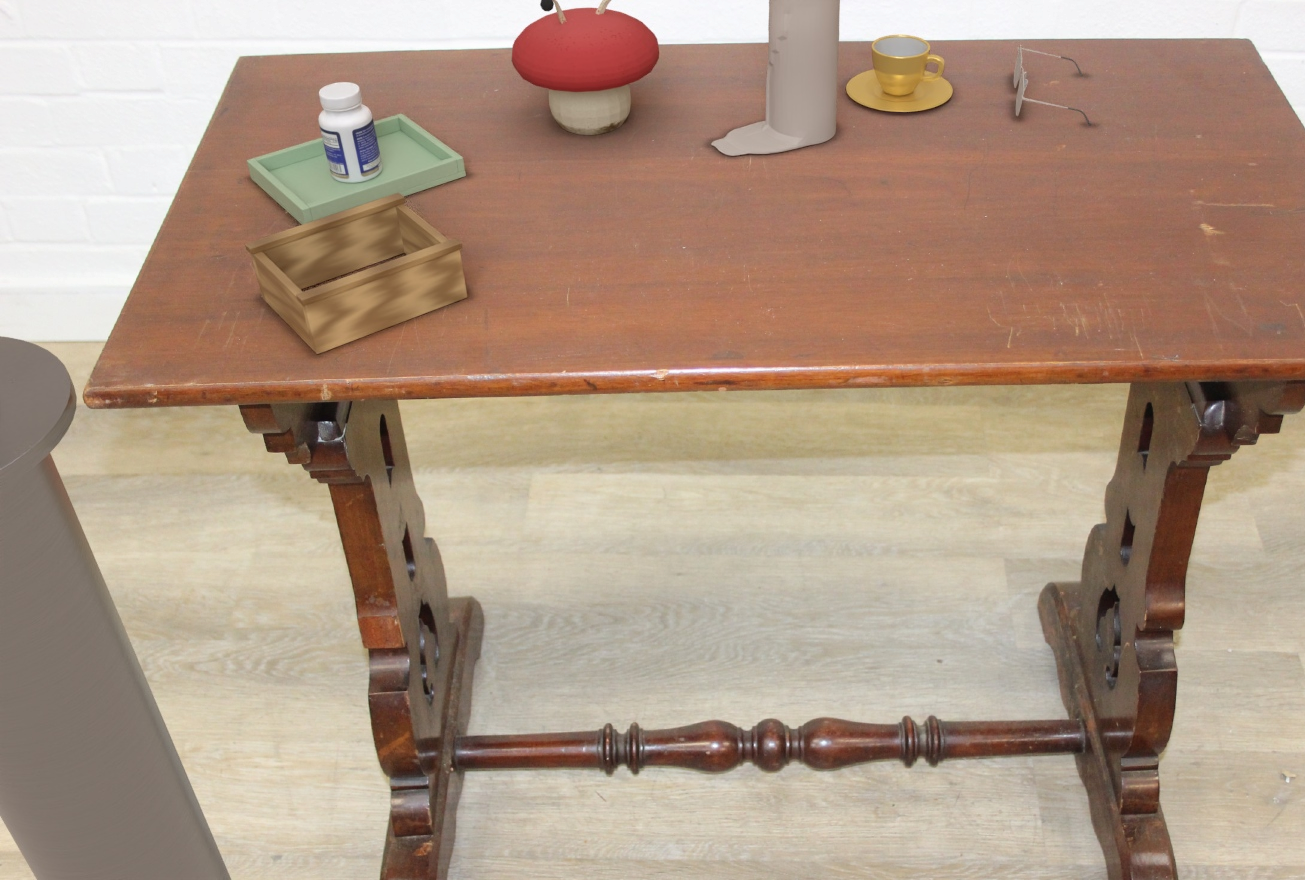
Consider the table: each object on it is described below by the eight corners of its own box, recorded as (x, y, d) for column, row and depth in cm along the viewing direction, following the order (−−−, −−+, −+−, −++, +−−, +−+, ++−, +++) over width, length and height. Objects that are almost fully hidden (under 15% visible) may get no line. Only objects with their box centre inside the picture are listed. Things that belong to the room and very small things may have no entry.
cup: (833, 107, 155) (835, 60, 152) (861, 65, 164) (863, 20, 161) (939, 121, 153) (943, 73, 149) (962, 77, 161) (966, 31, 158)
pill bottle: (381, 157, 146) (365, 76, 140) (384, 180, 142) (368, 97, 137) (329, 164, 145) (311, 82, 139) (331, 187, 141) (312, 103, 136)
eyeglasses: (1012, 71, 162) (1019, 38, 160) (1081, 79, 162) (1089, 46, 159) (1016, 124, 152) (1023, 89, 149) (1090, 132, 151) (1098, 97, 149)
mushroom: (560, 166, 145) (544, 24, 136) (495, 112, 156) (477, -24, 146) (690, 129, 152) (684, -10, 142) (620, 79, 162) (610, -53, 152)
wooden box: (315, 356, 119) (301, 300, 115) (259, 298, 126) (244, 243, 123) (471, 297, 126) (462, 242, 122) (409, 245, 133) (398, 192, 130)
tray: (306, 229, 136) (301, 209, 135) (251, 178, 144) (246, 159, 143) (466, 175, 144) (463, 157, 143) (405, 130, 152) (401, 112, 151)
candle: (702, 137, 150) (695, -53, 137) (816, 111, 155) (820, -75, 142) (731, 164, 145) (727, -31, 132) (847, 137, 150) (854, -54, 137)
